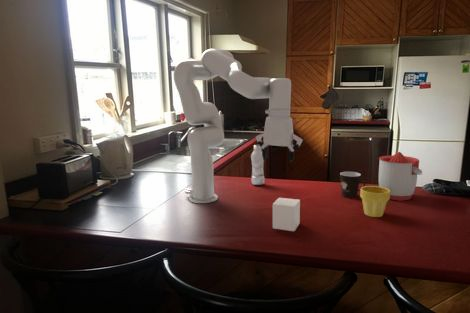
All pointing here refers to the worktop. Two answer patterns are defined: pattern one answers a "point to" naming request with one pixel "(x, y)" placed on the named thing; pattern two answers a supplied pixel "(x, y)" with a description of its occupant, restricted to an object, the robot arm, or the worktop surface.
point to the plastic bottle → (257, 166)
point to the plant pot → (374, 200)
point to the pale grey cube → (286, 214)
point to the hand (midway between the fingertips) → (277, 160)
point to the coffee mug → (350, 184)
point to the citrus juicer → (399, 175)
